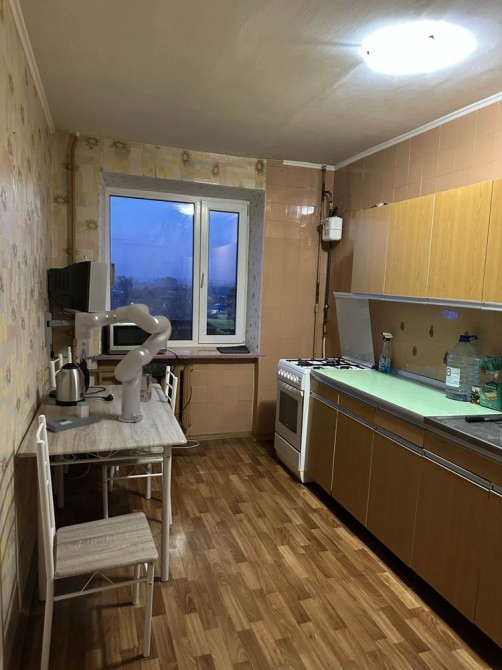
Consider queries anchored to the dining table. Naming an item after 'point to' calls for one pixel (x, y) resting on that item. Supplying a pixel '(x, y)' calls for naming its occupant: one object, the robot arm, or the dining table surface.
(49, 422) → the charcoal socket panel
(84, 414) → the white plug block
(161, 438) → the dining table surface
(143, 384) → the coffee box
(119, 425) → the dining table surface
